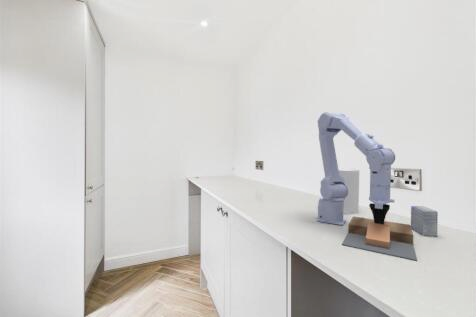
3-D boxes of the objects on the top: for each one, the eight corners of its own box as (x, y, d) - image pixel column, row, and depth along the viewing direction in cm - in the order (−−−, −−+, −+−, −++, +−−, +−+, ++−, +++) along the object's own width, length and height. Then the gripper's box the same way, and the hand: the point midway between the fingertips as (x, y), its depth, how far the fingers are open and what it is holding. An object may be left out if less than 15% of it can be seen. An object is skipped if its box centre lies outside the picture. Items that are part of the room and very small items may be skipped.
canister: (359, 209, 114) (360, 169, 113) (357, 215, 102) (358, 171, 102) (330, 206, 121) (330, 168, 120) (325, 211, 109) (326, 169, 108)
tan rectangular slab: (365, 243, 70) (365, 238, 69) (368, 227, 77) (368, 222, 76) (389, 248, 66) (389, 242, 66) (389, 230, 73) (389, 225, 73)
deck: (348, 232, 80) (348, 224, 80) (352, 224, 90) (353, 216, 90) (412, 244, 70) (413, 234, 70) (410, 233, 80) (410, 224, 80)
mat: (341, 245, 69) (341, 244, 69) (347, 233, 79) (347, 232, 79) (417, 261, 59) (417, 259, 59) (413, 245, 69) (413, 244, 69)
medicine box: (437, 237, 77) (438, 211, 77) (422, 236, 78) (423, 210, 78) (423, 229, 85) (424, 206, 84) (410, 228, 85) (410, 205, 85)
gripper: (395, 189, 67) (394, 235, 67) (394, 183, 79) (393, 222, 79) (367, 187, 71) (366, 230, 71) (370, 182, 83) (369, 219, 83)
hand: (378, 226), depth 75 cm, fingers closed
